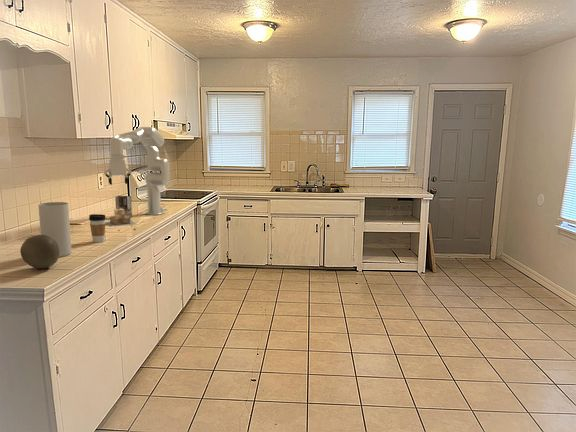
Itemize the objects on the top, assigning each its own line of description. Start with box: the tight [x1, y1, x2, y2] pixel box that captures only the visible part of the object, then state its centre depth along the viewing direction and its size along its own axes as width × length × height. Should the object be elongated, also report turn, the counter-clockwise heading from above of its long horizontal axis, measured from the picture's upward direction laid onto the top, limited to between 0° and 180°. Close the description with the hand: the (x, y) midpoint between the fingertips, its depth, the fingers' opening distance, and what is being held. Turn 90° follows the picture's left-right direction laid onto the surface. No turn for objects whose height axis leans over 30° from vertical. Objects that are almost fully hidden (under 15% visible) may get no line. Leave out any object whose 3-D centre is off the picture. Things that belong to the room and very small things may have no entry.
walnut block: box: [109, 215, 131, 225], centre depth 275 cm, size 10×10×4 cm
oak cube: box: [113, 208, 125, 218], centre depth 275 cm, size 5×5×5 cm
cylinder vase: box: [37, 201, 72, 258], centre depth 202 cm, size 12×12×25 cm
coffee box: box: [114, 195, 133, 218], centre depth 298 cm, size 9×6×16 cm
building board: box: [105, 219, 137, 228], centre depth 275 cm, size 17×17×2 cm
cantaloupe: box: [19, 234, 60, 270], centre depth 180 cm, size 14×14×15 cm
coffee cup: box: [88, 213, 107, 244], centre depth 231 cm, size 8×8×15 cm
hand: (118, 184), depth 271 cm, fingers open, 9 cm apart
